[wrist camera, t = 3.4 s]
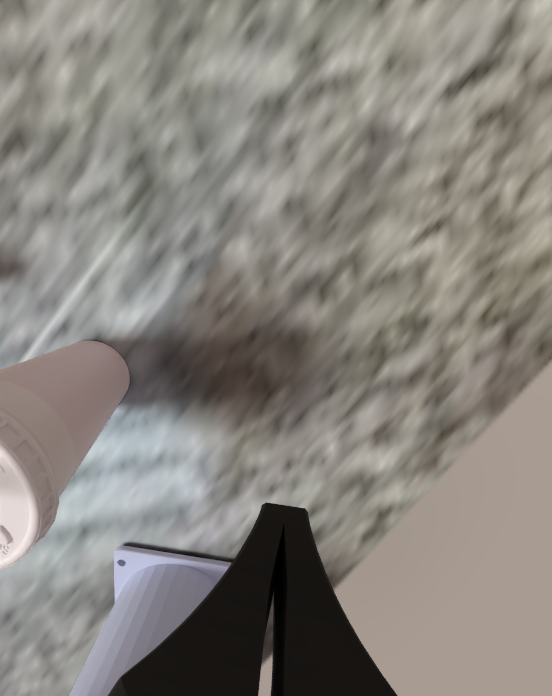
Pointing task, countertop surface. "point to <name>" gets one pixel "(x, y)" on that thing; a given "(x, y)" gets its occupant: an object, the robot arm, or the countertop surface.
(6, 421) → the smoothie
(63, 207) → the countertop surface
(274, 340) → the countertop surface
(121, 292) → the countertop surface
